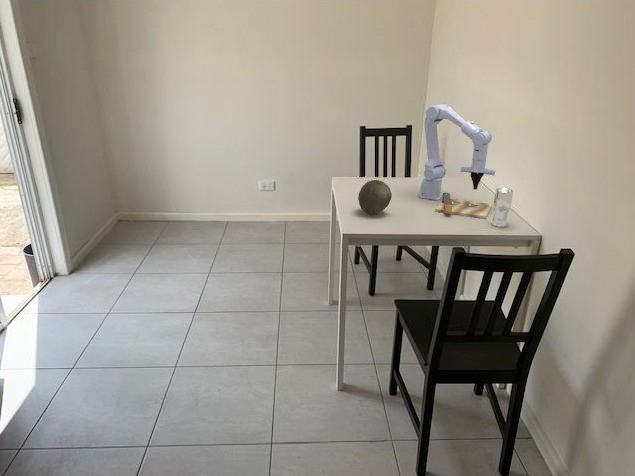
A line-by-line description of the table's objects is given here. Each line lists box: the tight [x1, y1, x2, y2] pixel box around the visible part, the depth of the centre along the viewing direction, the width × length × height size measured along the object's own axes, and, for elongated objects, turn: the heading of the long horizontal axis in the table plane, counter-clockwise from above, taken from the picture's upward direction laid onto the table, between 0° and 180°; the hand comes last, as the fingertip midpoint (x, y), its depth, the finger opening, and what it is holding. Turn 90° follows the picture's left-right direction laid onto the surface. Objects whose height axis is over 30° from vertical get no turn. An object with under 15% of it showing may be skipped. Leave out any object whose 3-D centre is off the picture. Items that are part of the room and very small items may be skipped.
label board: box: [434, 198, 493, 220], centre depth 215 cm, size 22×18×2 cm
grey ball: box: [357, 179, 393, 215], centre depth 208 cm, size 14×14×15 cm
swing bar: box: [441, 192, 453, 212], centre depth 213 cm, size 19×3×3 cm, turn 170°
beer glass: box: [491, 187, 514, 228], centre depth 195 cm, size 7×7×15 cm
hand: (475, 188), depth 212 cm, fingers closed
